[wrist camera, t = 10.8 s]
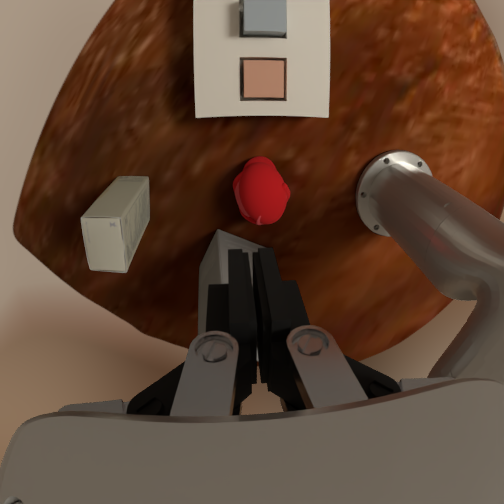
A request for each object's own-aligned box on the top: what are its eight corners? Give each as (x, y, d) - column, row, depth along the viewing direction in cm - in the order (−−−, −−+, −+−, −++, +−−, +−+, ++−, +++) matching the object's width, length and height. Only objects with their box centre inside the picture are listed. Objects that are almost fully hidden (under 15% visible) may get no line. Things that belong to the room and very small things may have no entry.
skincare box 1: (117, 175, 36) (78, 214, 25) (150, 175, 36) (121, 215, 26) (120, 220, 39) (87, 271, 28) (151, 221, 39) (127, 274, 29)
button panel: (316, -45, 23) (326, -56, 19) (318, 114, 34) (328, 117, 30) (198, -49, 22) (195, -62, 18) (199, 114, 33) (195, 117, 30)
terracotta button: (279, 63, 29) (283, 60, 27) (279, 96, 31) (283, 97, 29) (242, 62, 29) (243, 60, 26) (242, 96, 31) (244, 97, 28)
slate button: (281, 4, 24) (286, -3, 22) (281, 36, 26) (286, 31, 24) (242, 3, 24) (244, -5, 22) (242, 35, 26) (244, 30, 24)
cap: (292, 227, 38) (307, 196, 33) (246, 238, 36) (256, 207, 31) (266, 178, 41) (277, 146, 36) (224, 186, 39) (229, 152, 34)
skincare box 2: (199, 264, 43) (189, 349, 29) (220, 221, 40) (217, 299, 26) (253, 284, 46) (264, 370, 32) (276, 245, 43) (300, 326, 29)
